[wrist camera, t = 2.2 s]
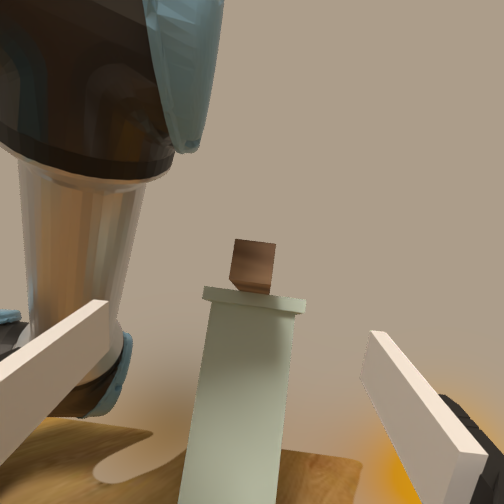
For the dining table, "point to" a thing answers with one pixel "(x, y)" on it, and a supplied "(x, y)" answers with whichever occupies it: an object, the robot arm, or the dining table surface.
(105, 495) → the dining table surface
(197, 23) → the robot arm
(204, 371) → the stand
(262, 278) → the walnut bar
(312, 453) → the dining table surface
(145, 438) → the dining table surface
